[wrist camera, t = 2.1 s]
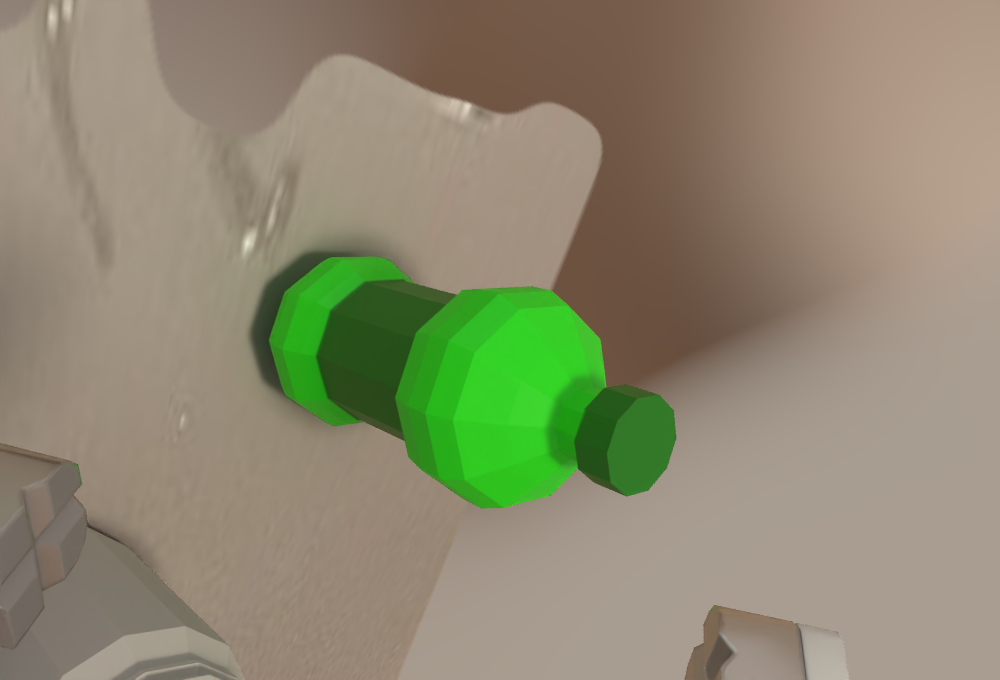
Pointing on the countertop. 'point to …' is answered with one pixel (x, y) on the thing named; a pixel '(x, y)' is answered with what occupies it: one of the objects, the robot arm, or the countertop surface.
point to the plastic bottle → (468, 382)
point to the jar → (117, 627)
